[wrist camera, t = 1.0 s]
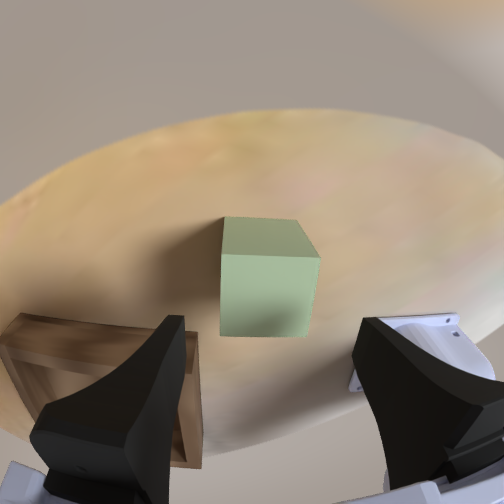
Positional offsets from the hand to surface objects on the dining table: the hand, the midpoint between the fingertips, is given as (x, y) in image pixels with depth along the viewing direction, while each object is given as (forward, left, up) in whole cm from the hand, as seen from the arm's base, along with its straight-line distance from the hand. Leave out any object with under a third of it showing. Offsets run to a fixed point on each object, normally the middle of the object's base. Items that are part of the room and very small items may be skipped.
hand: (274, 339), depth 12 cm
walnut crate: (+12, +13, -9) cm, 20 cm away
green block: (0, 0, -9) cm, 9 cm away
